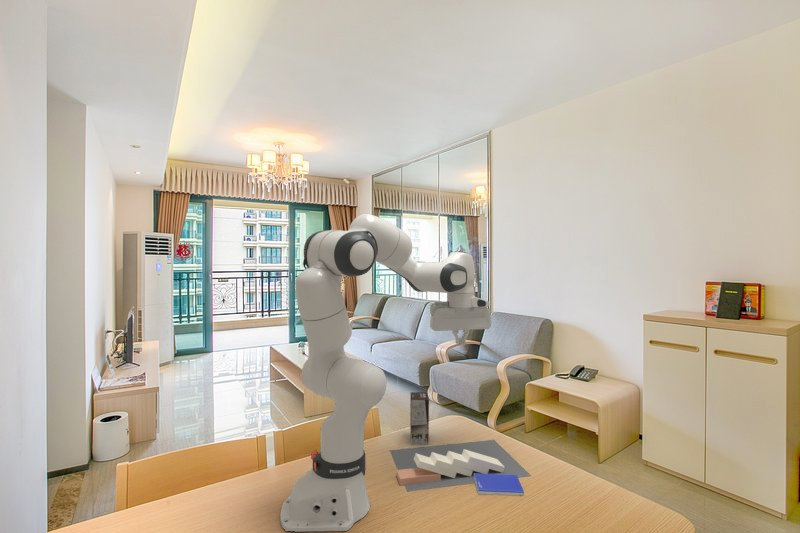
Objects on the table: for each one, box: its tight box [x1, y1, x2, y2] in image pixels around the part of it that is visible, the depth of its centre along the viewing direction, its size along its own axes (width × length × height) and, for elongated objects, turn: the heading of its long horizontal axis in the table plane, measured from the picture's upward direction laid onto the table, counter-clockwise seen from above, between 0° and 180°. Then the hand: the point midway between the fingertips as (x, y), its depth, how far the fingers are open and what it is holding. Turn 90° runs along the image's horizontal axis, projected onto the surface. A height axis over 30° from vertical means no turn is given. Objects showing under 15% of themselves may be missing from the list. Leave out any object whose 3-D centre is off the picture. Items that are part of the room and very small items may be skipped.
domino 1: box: [414, 453, 457, 478], centre depth 119 cm, size 2×5×12 cm
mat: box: [389, 439, 532, 492], centre depth 128 cm, size 38×25×1 cm, turn 103°
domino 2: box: [430, 452, 473, 477], centre depth 120 cm, size 2×5×12 cm
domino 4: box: [462, 449, 505, 473], centre depth 123 cm, size 2×5×12 cm
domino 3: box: [446, 451, 489, 474], centre depth 121 cm, size 2×5×12 cm
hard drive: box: [474, 473, 525, 496], centre depth 114 cm, size 2×8×12 cm
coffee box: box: [409, 391, 430, 446], centre depth 144 cm, size 9×6×16 cm
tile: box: [396, 468, 441, 486], centre depth 118 cm, size 2×5×12 cm
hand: (460, 343), depth 132 cm, fingers closed
